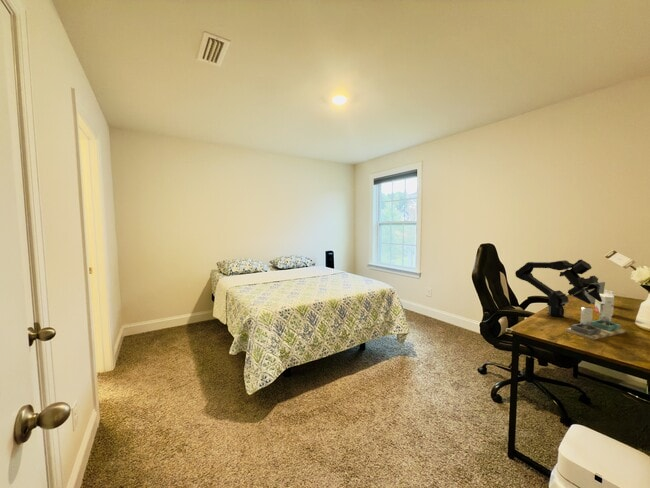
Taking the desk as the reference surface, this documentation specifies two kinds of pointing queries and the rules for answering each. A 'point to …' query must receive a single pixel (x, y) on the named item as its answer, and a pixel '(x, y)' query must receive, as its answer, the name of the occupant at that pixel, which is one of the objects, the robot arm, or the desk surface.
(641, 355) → the desk surface
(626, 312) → the desk surface
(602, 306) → the billet
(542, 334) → the desk surface
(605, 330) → the pallet
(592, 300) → the skincare box
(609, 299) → the ink cartridge box
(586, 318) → the block
